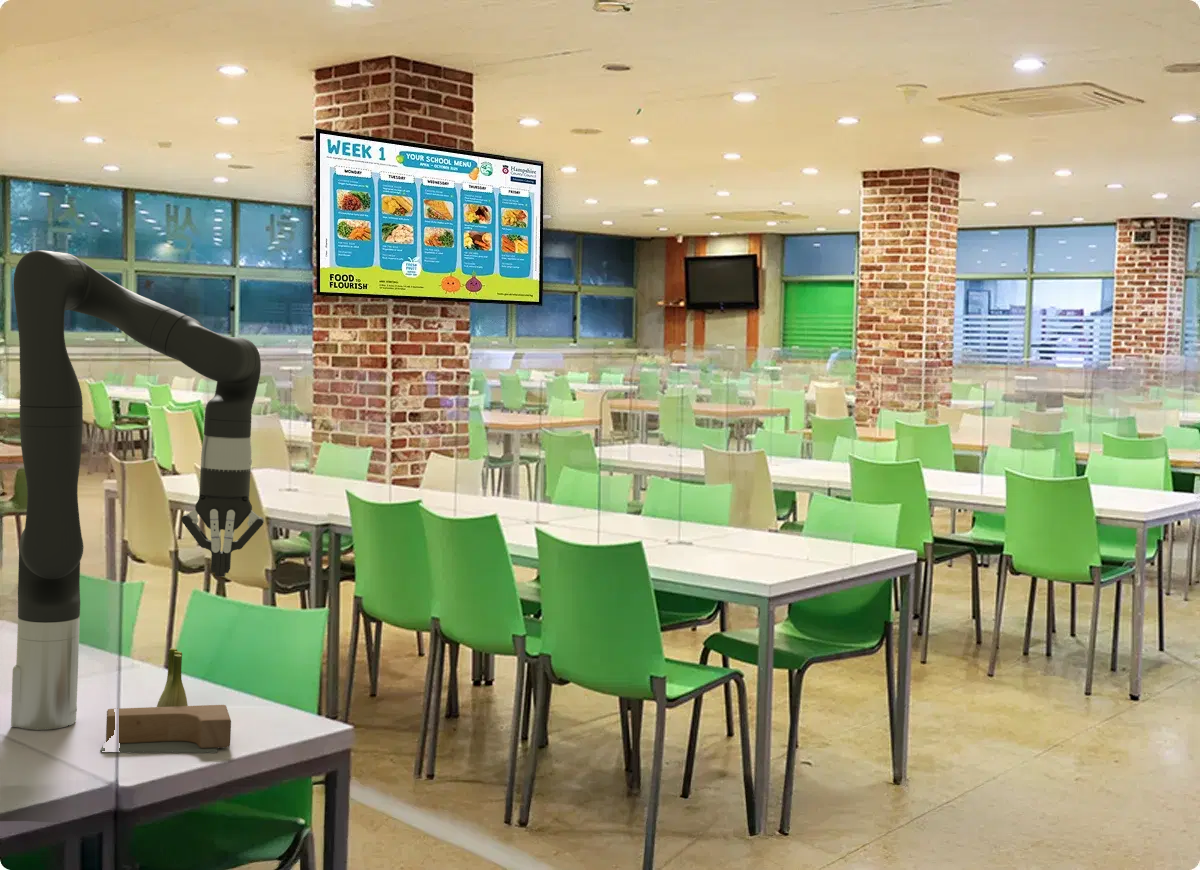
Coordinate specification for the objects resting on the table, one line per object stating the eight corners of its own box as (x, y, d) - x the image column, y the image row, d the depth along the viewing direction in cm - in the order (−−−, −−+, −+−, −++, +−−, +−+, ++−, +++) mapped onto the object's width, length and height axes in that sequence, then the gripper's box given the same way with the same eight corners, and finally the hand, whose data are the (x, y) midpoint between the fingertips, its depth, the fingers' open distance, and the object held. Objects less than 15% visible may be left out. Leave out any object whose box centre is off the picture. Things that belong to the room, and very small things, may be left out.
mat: (100, 752, 203) (100, 750, 203) (113, 729, 215) (113, 727, 215) (216, 752, 206) (216, 750, 206) (223, 730, 218) (223, 727, 218)
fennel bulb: (181, 727, 219) (184, 654, 218) (150, 725, 219) (153, 652, 218) (191, 717, 224) (194, 646, 224) (161, 716, 224) (164, 644, 224)
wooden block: (231, 719, 207) (107, 724, 201) (230, 748, 208) (106, 753, 201) (226, 703, 216) (106, 708, 210) (225, 731, 216) (105, 736, 210)
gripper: (178, 465, 204) (173, 578, 205) (268, 469, 207) (262, 581, 208) (184, 461, 212) (179, 570, 213) (270, 465, 214) (265, 573, 215)
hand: (220, 575), depth 210 cm, fingers closed
